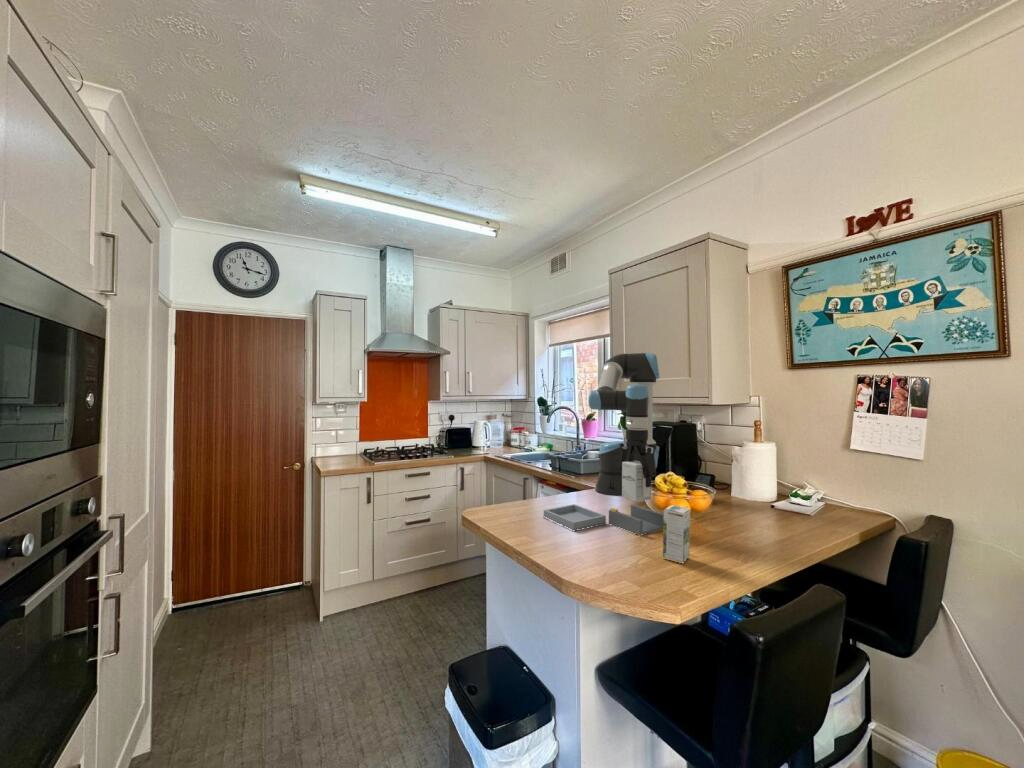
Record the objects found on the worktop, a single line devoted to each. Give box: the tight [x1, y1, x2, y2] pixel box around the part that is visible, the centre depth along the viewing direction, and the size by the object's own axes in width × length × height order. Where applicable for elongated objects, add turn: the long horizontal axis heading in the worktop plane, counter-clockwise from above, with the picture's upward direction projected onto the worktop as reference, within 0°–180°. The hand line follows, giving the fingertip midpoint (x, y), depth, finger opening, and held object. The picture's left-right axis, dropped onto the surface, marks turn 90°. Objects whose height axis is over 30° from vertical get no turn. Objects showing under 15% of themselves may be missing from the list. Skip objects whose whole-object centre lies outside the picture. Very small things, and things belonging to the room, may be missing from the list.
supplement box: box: [621, 461, 652, 503], centre depth 146 cm, size 7×7×13 cm
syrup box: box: [662, 505, 691, 562], centre depth 119 cm, size 6×6×14 cm
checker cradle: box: [608, 504, 664, 535], centre depth 146 cm, size 13×14×6 cm
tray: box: [543, 503, 607, 530], centre depth 152 cm, size 15×17×3 cm
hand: (636, 493), depth 146 cm, fingers closed on supplement box, 8 cm apart
